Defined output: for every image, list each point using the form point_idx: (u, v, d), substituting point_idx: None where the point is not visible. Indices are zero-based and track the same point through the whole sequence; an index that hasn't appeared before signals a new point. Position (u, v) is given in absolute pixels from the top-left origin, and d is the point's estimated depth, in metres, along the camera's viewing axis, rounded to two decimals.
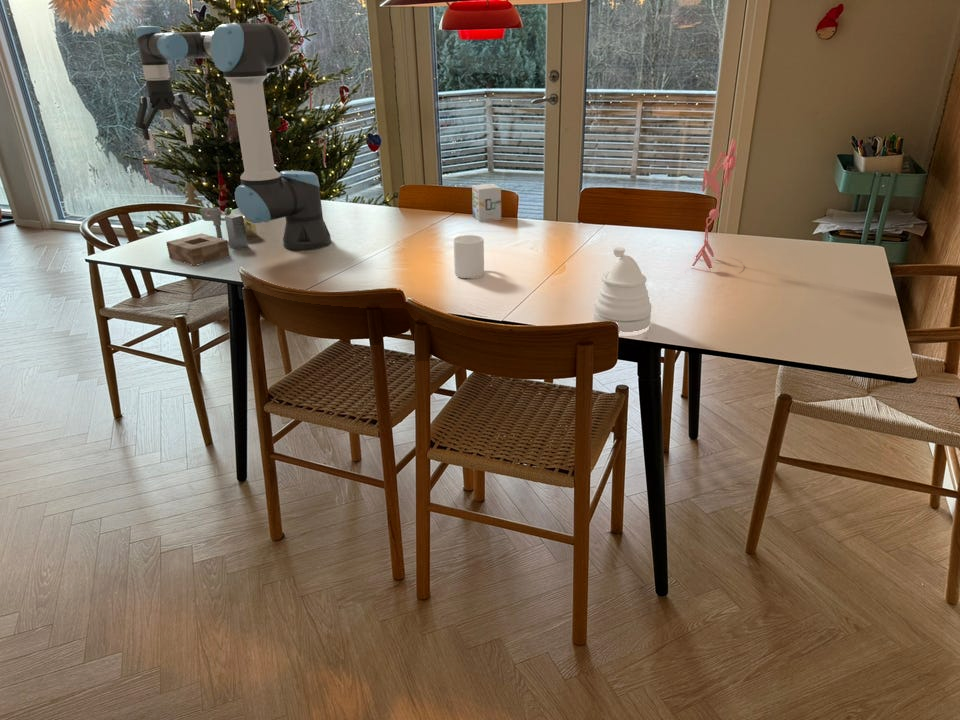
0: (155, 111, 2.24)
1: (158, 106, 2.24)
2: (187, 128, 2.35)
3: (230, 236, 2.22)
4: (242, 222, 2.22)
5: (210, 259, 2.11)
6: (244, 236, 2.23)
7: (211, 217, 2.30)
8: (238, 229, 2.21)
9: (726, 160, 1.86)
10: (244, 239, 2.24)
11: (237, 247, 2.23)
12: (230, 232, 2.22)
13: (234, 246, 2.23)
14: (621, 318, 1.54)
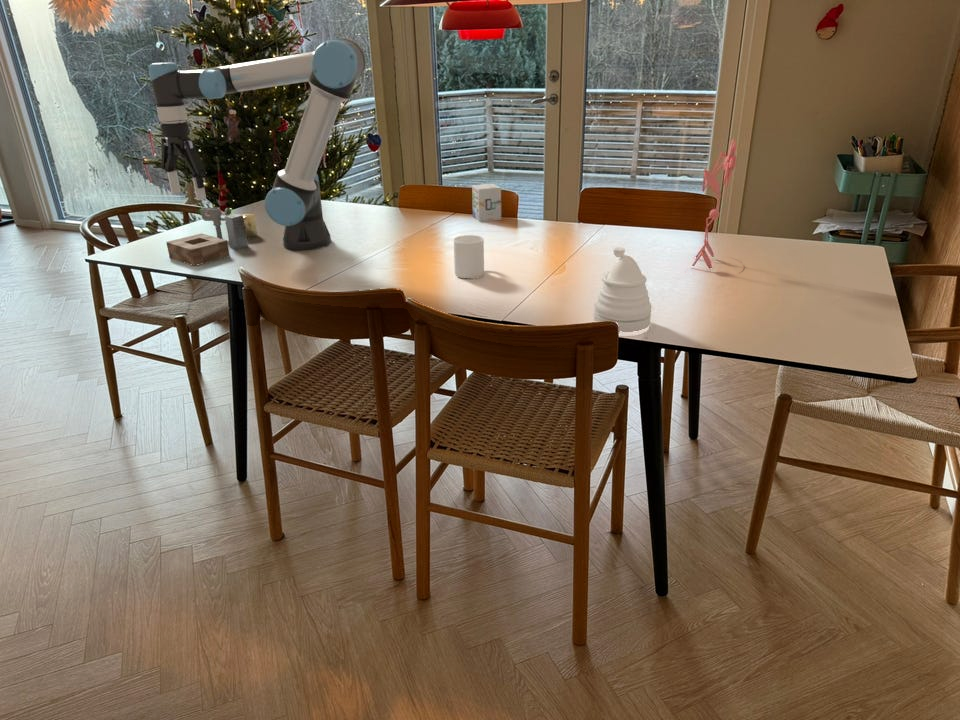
0: (169, 155, 2.03)
1: (169, 150, 2.02)
2: None
3: (230, 236, 2.22)
4: (242, 222, 2.22)
5: (210, 259, 2.11)
6: (244, 236, 2.23)
7: (211, 217, 2.30)
8: (238, 229, 2.21)
9: (726, 160, 1.85)
10: (244, 239, 2.24)
11: (237, 247, 2.23)
12: (230, 232, 2.22)
13: (234, 246, 2.23)
14: (621, 318, 1.54)
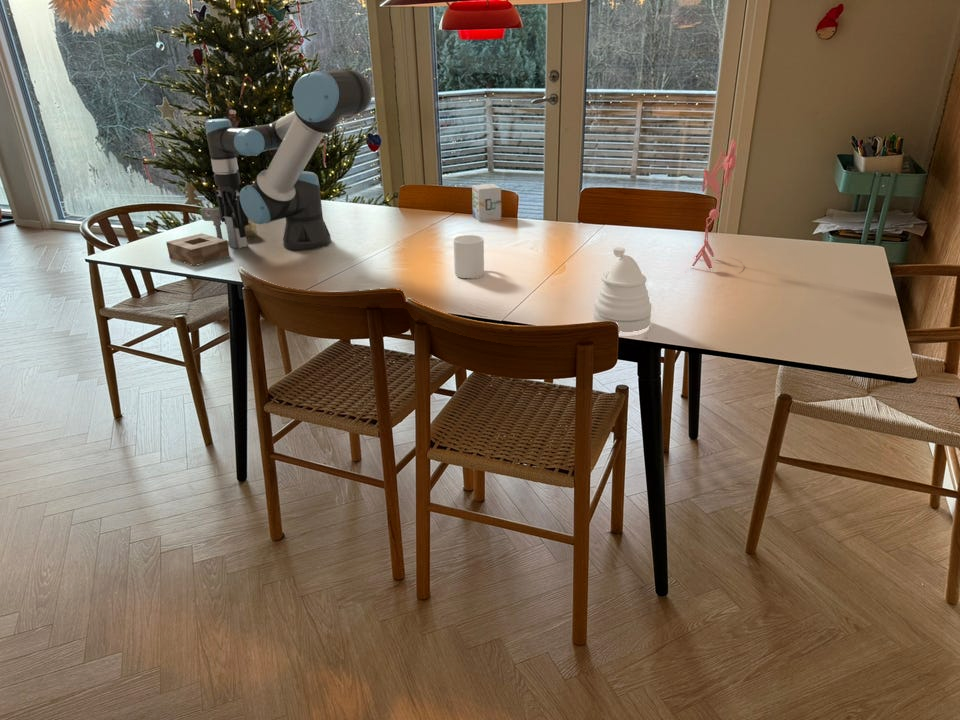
0: (224, 205, 2.19)
1: (223, 199, 2.18)
2: None
3: (230, 236, 2.22)
4: None
5: (210, 259, 2.11)
6: None
7: (211, 217, 2.30)
8: None
9: (726, 160, 1.85)
10: None
11: (237, 247, 2.23)
12: (230, 232, 2.22)
13: (234, 246, 2.23)
14: (621, 318, 1.54)
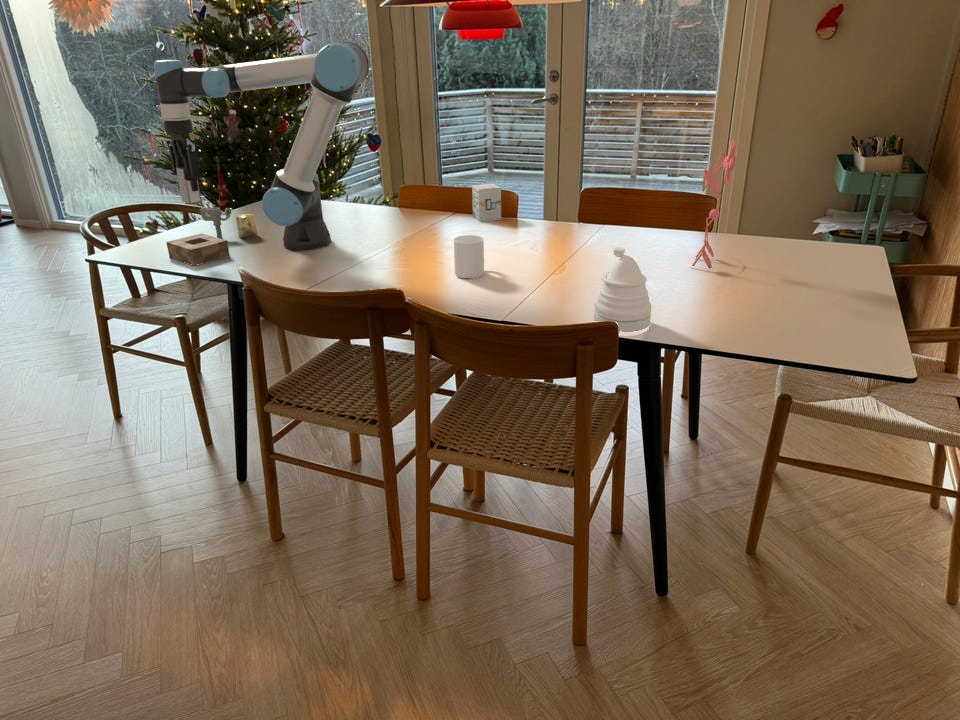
0: (175, 155, 2.04)
1: (174, 149, 2.02)
2: None
3: (182, 189, 2.07)
4: None
5: (210, 259, 2.11)
6: None
7: (211, 217, 2.30)
8: None
9: (726, 160, 1.85)
10: None
11: (189, 201, 2.07)
12: (182, 185, 2.06)
13: (186, 200, 2.07)
14: (621, 318, 1.54)
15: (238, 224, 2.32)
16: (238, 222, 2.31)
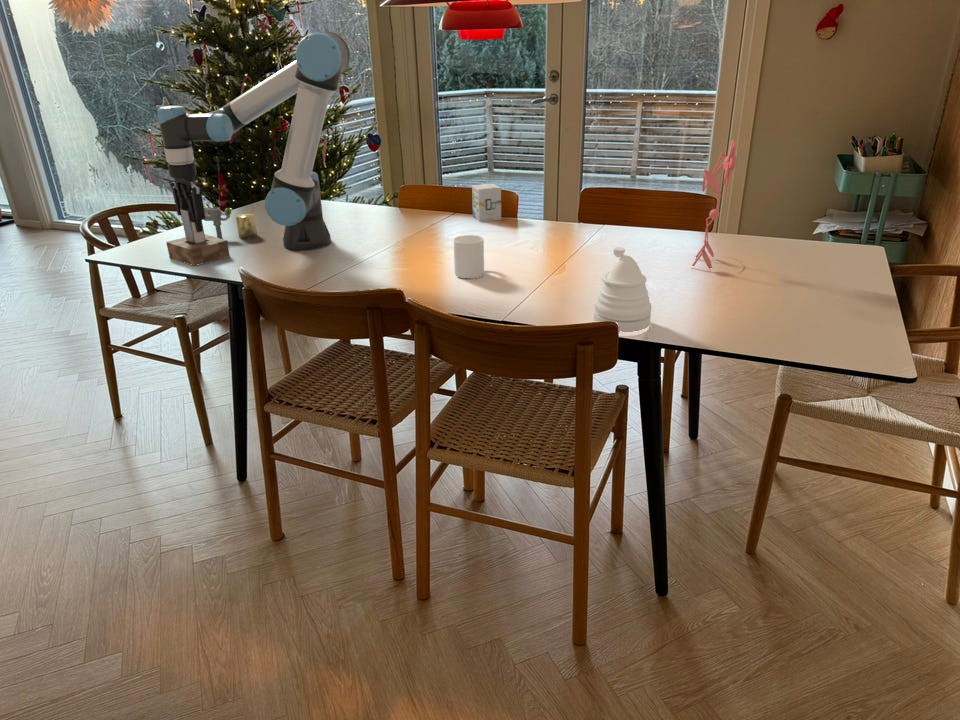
0: (180, 197, 2.07)
1: (178, 191, 2.06)
2: None
3: (186, 230, 2.11)
4: None
5: (210, 259, 2.11)
6: None
7: (211, 217, 2.30)
8: None
9: (726, 160, 1.85)
10: None
11: (194, 242, 2.11)
12: (187, 226, 2.10)
13: (190, 241, 2.11)
14: (621, 318, 1.54)
15: (238, 224, 2.32)
16: (238, 222, 2.31)
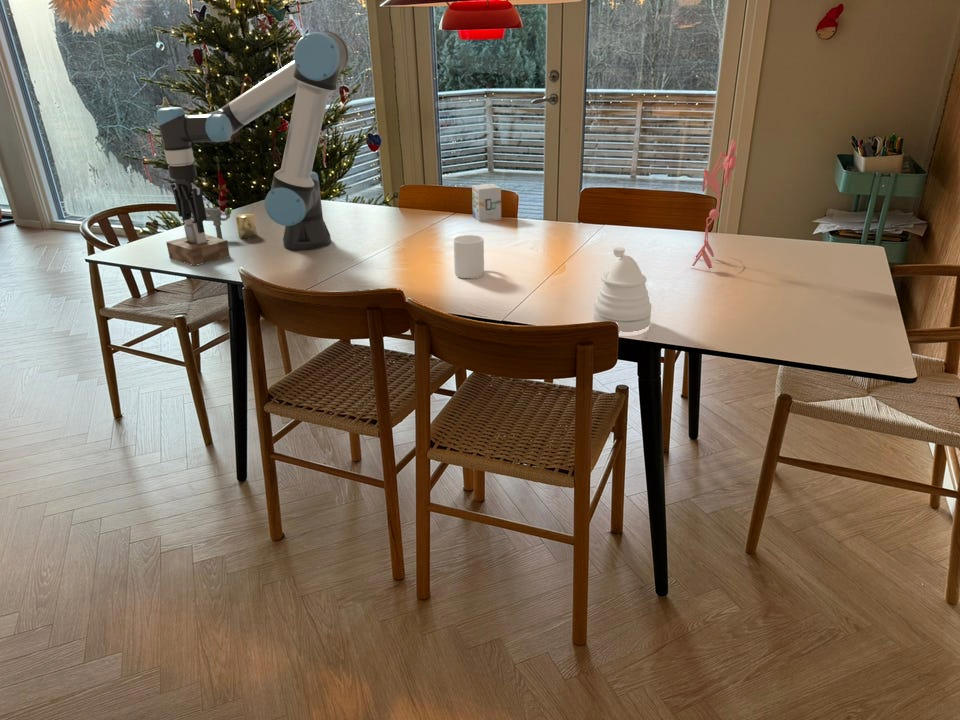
0: (180, 198, 2.08)
1: (179, 193, 2.07)
2: None
3: None
4: None
5: (210, 259, 2.11)
6: None
7: (211, 217, 2.30)
8: None
9: (726, 160, 1.85)
10: None
11: None
12: (190, 242, 2.12)
13: None
14: (621, 318, 1.54)
15: (238, 224, 2.32)
16: (238, 222, 2.31)
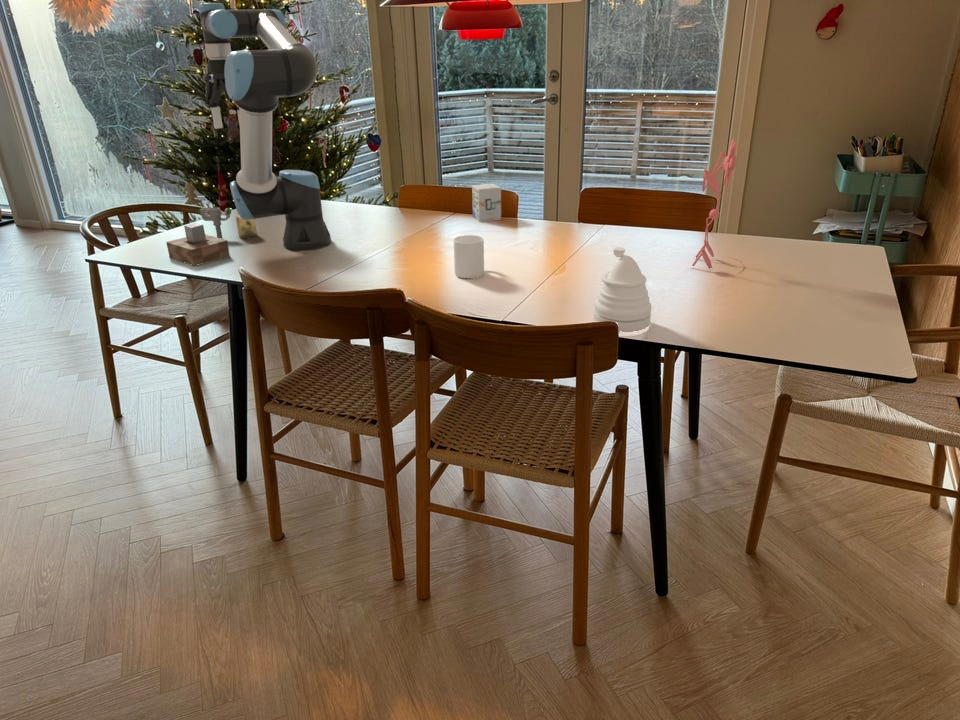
0: (214, 90, 2.22)
1: (214, 86, 2.20)
2: None
3: None
4: (202, 232, 2.12)
5: (210, 259, 2.11)
6: None
7: (211, 217, 2.30)
8: (198, 239, 2.11)
9: (726, 160, 1.85)
10: None
11: None
12: (190, 242, 2.12)
13: None
14: (621, 318, 1.54)
15: (238, 224, 2.32)
16: (238, 222, 2.31)
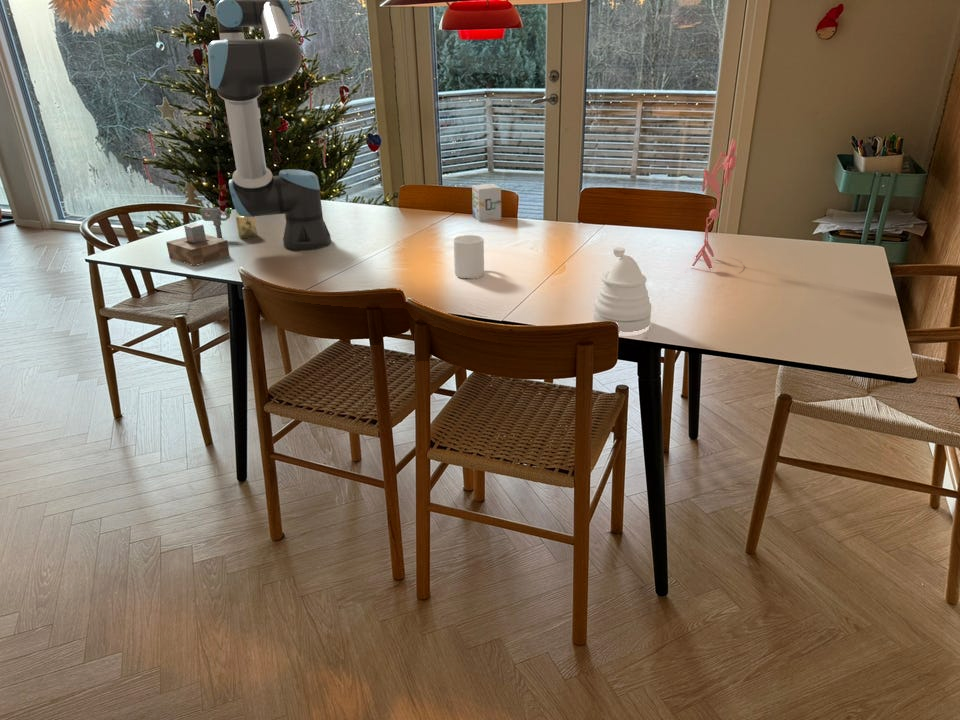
0: None
1: None
2: None
3: None
4: (202, 232, 2.12)
5: (210, 259, 2.11)
6: None
7: (211, 217, 2.30)
8: (198, 239, 2.11)
9: (726, 160, 1.85)
10: None
11: None
12: (190, 242, 2.12)
13: None
14: (621, 318, 1.54)
15: (238, 224, 2.32)
16: (238, 222, 2.31)
